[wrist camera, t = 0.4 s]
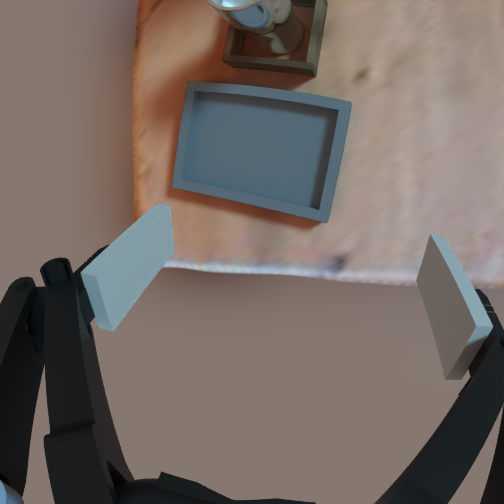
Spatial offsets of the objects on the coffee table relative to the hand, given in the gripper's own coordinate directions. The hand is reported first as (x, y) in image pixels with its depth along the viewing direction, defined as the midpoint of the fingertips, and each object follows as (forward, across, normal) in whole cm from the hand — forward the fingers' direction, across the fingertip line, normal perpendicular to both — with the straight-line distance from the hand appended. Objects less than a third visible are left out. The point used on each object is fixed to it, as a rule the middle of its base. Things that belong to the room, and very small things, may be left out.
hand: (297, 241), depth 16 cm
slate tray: (+25, -6, -1) cm, 26 cm away
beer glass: (+28, -5, +14) cm, 32 cm away
